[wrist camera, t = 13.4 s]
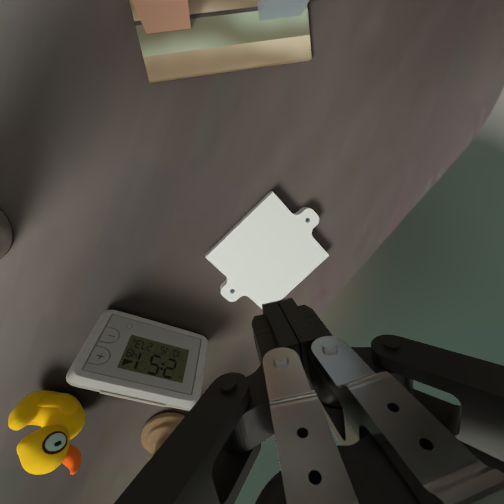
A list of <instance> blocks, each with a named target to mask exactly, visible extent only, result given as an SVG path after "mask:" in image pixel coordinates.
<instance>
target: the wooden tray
mask: <svg viewBox="0 0 504 504" xmlns="http://www.w3.org/2000/svg"><path fill="white" fill-rule="evenodd" d="M129 2H130V6H131V10H132V14H133V18H134V22H135V26H136V30H137V34H138V38H139V42H140V46H141V51H142V55H143V58H144V62H145V67H146V71H147V75H148V79H149V82H150V83H154V82H161V81H168V80H175V79H182V78H189V77H196V76H203V75H210V74H217V73H224V72H231V71H238V70H245V69H252V68H259V67H266V66H273V65H280V64H287V63H294V62H301V61H308V60H311V59H312V55H311V44H310V31H309V19H308V8H307V6H306V7H305V9H304V11H303V12H302V14H301V15H300V16H292V17H284V18H276V19H268V20H260V21H259V13H258V6H257V0H188V7H189V15H190V24H191V28H190V29H182V30H174V31H166V32H158V33H150V34H146V32H145V29H144V27H143V25H142V23H141V20H140V18H139V16H138V14H137V12H136V9H135V7H134V5H133V3H132V0H129Z"/></svg>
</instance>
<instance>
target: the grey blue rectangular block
mask: <svg viewBox="0 0 504 504" xmlns="http://www.w3.org/2000/svg"><path fill="white" fill-rule="evenodd" d="M308 2H309V0H257V6H258V13H259V21H260V20H268V19H276V18H284V17H292V16H300V15H301V14H302V12H303V11H304V9H305V7H306V6H307V4H308Z"/></svg>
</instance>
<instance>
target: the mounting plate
mask: <svg viewBox="0 0 504 504" xmlns="http://www.w3.org/2000/svg"><path fill="white" fill-rule="evenodd" d="M306 218H307V219H306ZM318 223H319V216H318V215H317V214H316V213H315V211H314V210H313V209H311V208H308V207H302V208H301V209H300V210H299V211H298V212H296V213H291V212H290V210H289V209H288V208H287V207H286V206H285V205H284V204H283V203H282V201H281V200H280V199H279V198H278V197H277V196H276V195H275V193H274V192H272V191H270V192H269V193H268V194H267V195H266V196H265V197H264V198H263V199H262V200H261V201H260V202H259V203H258V204H257V205H256V206H254V207H253V208H252V209H251V210H250V211H249V212H248V213H247V214H246V215H245V216H244V217H243V218H242V219H241V220H240V221H239V222H238V223H237V224H236V225H235V226H234V227H233V228H232V229H231V230H230V231H229V232H228V233H227V234H226V235H225V236H224V237H223V238H222V239H221V240H219V241H218V242H217V243H216V244H215V245H214V246H213V247H212V248H211V249H210V250H209V251H208V252H207V253H206V254H205V258H207V259H208V260H209V261H210V262H211V263H212V264H213V265H214V266H215V267H216V268H218V269H219V270H220V271H221V272H222V273H223V274H224V275H225V276H226V277H227V278H226V280H225V281H224V282H223V283H222V284H221V287H220V289H221V294H222V296H223V297H224V298H226V299H227V300H228V301H230V302H234V301H236V300H238V299H239V298H240V297H241V296H248V297H249V298H250V299H252V300H253V301H254V302H255V303H256V304H257V305H258V306H259V307H260V308H261V309H262V304H266V303H270V302H274V301H278V300H281V299H283V298H284V297H285V296H286V295H287V294H288V293H289V292H290V291H291V290H292V289H293V288H295V287H296V286H297V285H298V284H299V283H300V282H301V281H302V280H303V279H304V278H305V277H306V276H308V275H309V274H310V273H311V272H312V271H313V270H314V269H315V268H316V267H317V266H318V265H320V264H321V263H322V262H323V261H324V260H325V259H326V258H327V257H328V256H329V255H328V253H327V252H326V251H325V250H324V249H323V248H322V247H321V246H320V244H319V243H318V242H317V241H316V240H315V239H314V238H313V236H312V230H313V229H314V227H315V226H317V224H318Z"/></svg>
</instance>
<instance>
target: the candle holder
mask: <svg viewBox="0 0 504 504" xmlns="http://www.w3.org/2000/svg"><path fill="white" fill-rule="evenodd" d="M184 417H185V416H184V415H182V414H179V413H174V412H167V413H161V414H158V415H156V416H154V417H152V418H151V419H150V420H149V421H148V422H147V423H146V424H145V425H144V427H143V430H142V433H141V442H142V445H143V446H144V448H145V449H146V450H147V451H148V452H150V453H151V455H150V457H149V460H150V459H151V458H152V456H153V455H154V454H155V453H156V451H157V450H158V449H159V448H160V447H161V445H162V444H163V443H164V442H165V440H166V439H167V438H168V437H169V436H170V434H171V433H172V432H173V431H174V429H175V428H176V427H177V426H178V424H179V423H180V422H181V421H182V420H183V418H184ZM149 460H148V461H149Z"/></svg>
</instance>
